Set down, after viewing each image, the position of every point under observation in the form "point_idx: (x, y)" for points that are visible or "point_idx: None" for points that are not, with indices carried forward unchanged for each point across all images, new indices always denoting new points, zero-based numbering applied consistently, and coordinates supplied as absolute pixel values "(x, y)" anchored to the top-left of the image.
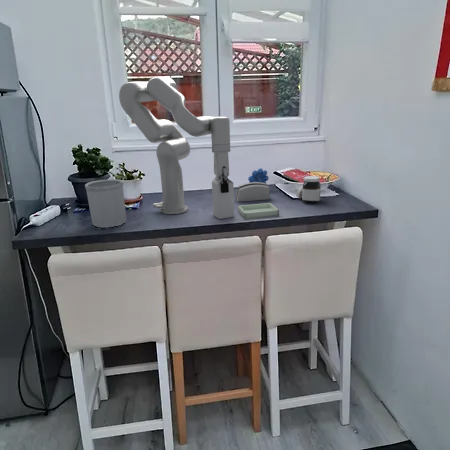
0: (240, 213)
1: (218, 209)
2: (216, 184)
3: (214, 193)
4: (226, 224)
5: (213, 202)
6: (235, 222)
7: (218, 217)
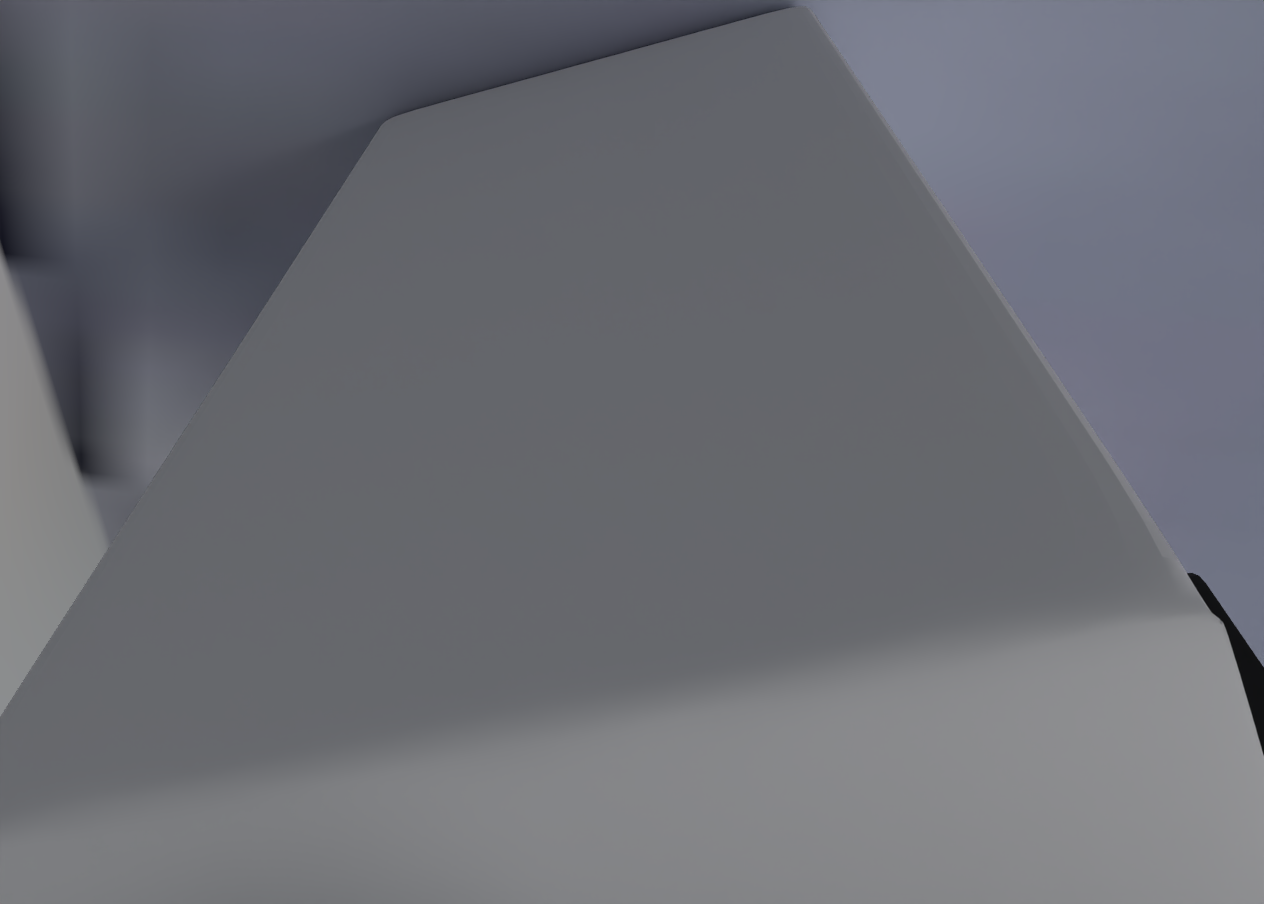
0: None
1: (333, 207)
2: (99, 799)
3: (623, 324)
4: (3, 253)
5: (783, 122)
6: (148, 444)
7: (397, 122)
